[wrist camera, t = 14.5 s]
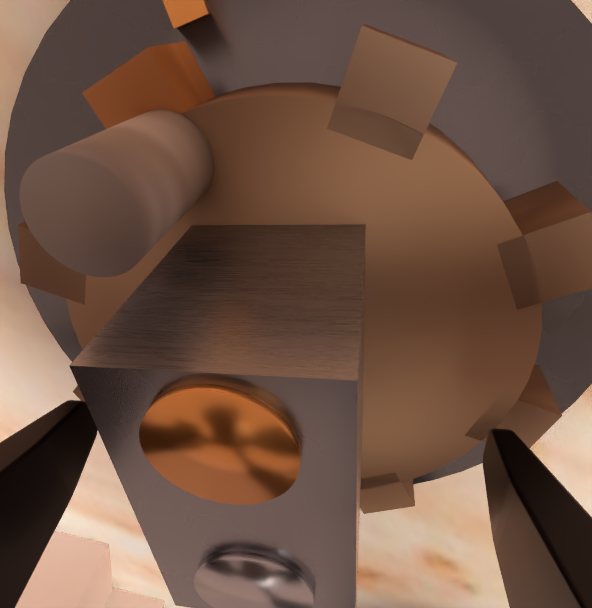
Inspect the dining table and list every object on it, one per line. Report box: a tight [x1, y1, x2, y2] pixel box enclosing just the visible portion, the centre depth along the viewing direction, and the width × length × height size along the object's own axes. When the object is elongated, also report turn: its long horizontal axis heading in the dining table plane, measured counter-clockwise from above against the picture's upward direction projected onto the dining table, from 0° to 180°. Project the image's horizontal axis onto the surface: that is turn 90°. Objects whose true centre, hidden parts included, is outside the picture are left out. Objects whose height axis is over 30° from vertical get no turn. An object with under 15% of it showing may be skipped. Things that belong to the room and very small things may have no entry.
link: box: [70, 224, 366, 608], centre depth 10 cm, size 7×4×5 cm, turn 4°
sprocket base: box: [4, 0, 592, 484], centre depth 14 cm, size 19×19×1 cm
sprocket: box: [18, 24, 592, 514], centre depth 11 cm, size 15×15×5 cm
